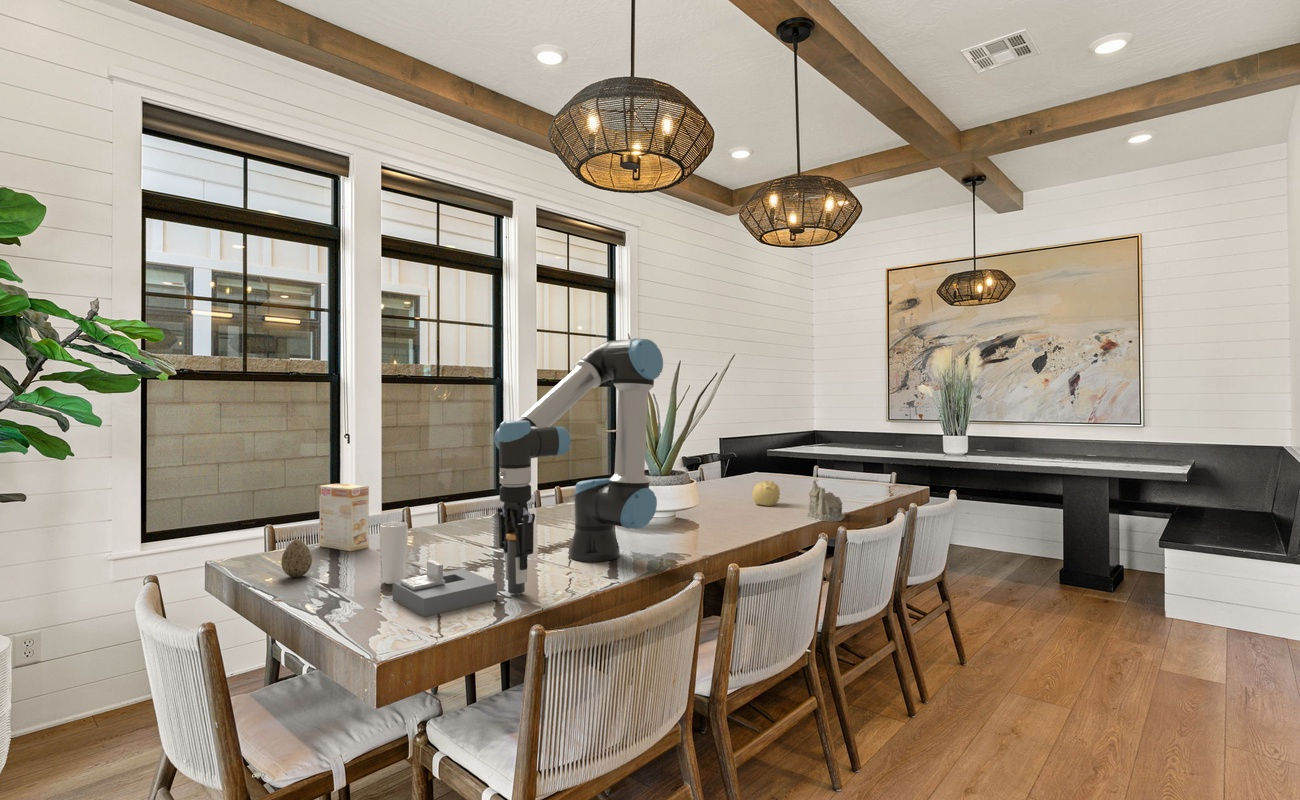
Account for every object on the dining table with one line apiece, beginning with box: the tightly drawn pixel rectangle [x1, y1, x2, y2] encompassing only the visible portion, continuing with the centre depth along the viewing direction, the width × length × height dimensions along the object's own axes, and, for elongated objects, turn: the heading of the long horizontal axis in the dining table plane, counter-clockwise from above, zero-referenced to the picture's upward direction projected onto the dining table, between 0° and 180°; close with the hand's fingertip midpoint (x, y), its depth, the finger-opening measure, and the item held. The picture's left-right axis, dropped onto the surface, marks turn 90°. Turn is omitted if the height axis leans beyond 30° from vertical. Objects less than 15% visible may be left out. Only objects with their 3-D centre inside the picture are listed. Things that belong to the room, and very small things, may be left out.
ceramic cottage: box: [807, 479, 846, 523], centre depth 261 cm, size 16×16×15 cm
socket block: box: [392, 568, 498, 618], centre depth 157 cm, size 18×17×4 cm
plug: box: [506, 532, 526, 595], centre depth 160 cm, size 5×5×14 cm
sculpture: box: [751, 480, 781, 507], centre depth 290 cm, size 12×12×11 cm
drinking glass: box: [379, 521, 409, 585], centre depth 171 cm, size 7×7×15 cm
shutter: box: [400, 559, 445, 590], centre depth 155 cm, size 8×8×4 cm
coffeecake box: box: [318, 483, 370, 552], centre depth 209 cm, size 15×7×20 cm, turn 63°
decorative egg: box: [281, 538, 313, 578], centre depth 175 cm, size 7×7×10 cm
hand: (516, 580), depth 160 cm, fingers closed on plug, 4 cm apart
